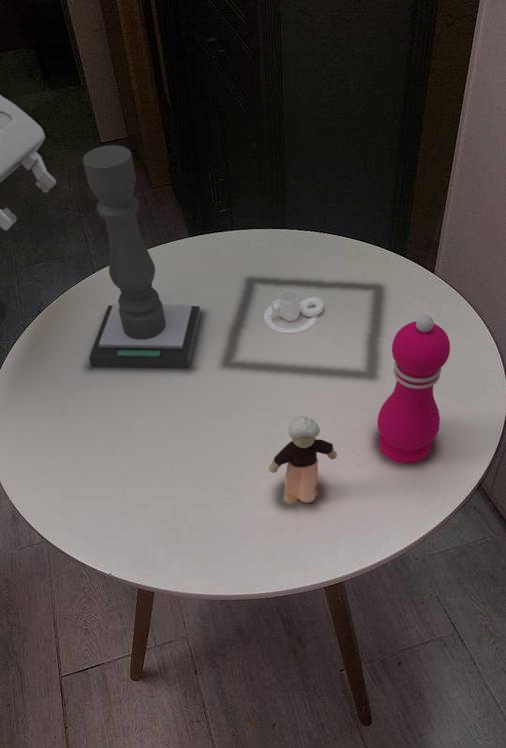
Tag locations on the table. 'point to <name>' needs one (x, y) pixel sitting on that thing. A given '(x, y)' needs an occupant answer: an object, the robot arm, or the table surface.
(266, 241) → the table surface
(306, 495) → the grandmother figurine
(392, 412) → the pepper mill
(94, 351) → the scale
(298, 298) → the teacup and saucer
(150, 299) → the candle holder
